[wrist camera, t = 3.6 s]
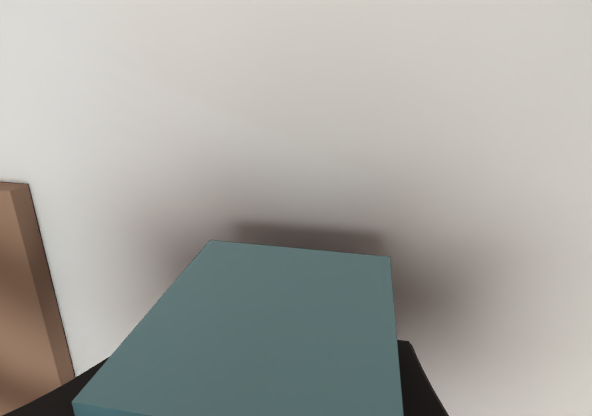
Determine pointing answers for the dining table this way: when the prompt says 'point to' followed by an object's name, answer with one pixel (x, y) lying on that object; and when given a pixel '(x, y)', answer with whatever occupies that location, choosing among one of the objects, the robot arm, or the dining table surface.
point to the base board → (27, 308)
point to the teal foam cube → (259, 340)
